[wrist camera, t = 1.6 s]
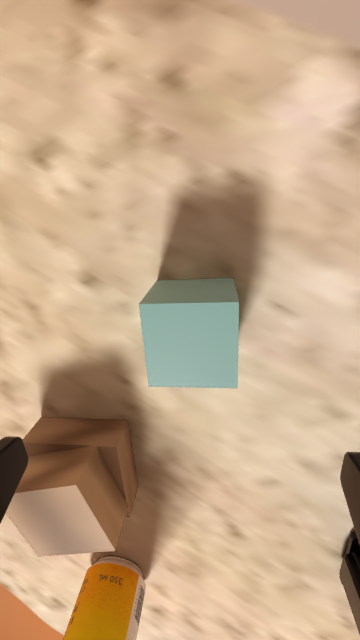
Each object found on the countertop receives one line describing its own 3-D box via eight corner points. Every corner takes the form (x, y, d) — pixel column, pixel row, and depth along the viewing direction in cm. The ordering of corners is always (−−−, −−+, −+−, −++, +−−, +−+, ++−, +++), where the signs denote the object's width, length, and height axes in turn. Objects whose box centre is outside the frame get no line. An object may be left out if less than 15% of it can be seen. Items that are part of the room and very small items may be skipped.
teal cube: (233, 277, 17) (239, 302, 12) (232, 346, 18) (237, 388, 14) (157, 279, 17) (138, 304, 13) (163, 346, 19) (148, 386, 15)
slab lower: (129, 416, 22) (116, 446, 19) (139, 481, 24) (129, 517, 22) (44, 413, 23) (20, 442, 20) (62, 476, 25) (44, 510, 23)
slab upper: (96, 444, 19) (76, 485, 16) (128, 505, 21) (115, 550, 18) (22, 457, 21) (-7, 496, 18) (60, 513, 23) (38, 556, 20)
